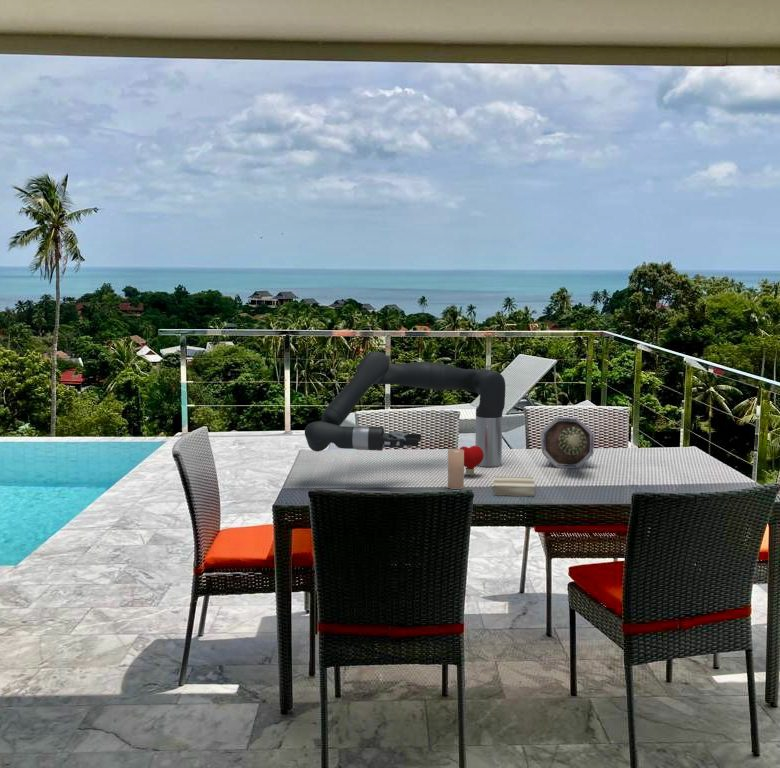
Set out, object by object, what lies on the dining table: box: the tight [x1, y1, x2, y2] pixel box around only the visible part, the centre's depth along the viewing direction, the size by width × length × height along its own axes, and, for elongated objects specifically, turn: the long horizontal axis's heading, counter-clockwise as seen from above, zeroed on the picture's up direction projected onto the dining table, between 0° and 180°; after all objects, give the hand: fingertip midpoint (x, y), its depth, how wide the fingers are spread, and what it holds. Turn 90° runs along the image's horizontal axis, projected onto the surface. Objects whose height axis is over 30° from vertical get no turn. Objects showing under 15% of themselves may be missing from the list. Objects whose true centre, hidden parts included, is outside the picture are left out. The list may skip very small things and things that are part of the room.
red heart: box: [459, 445, 484, 477], centre depth 280 cm, size 9×7×10 cm
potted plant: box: [540, 416, 595, 469], centre depth 289 cm, size 18×18×30 cm
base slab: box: [493, 476, 536, 497], centre depth 261 cm, size 12×12×3 cm
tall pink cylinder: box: [447, 448, 465, 490], centre depth 264 cm, size 5×5×12 cm
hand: (419, 440), depth 264 cm, fingers open, 8 cm apart
